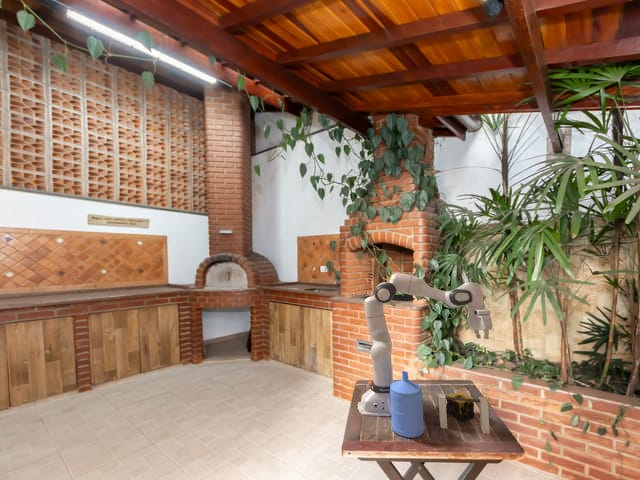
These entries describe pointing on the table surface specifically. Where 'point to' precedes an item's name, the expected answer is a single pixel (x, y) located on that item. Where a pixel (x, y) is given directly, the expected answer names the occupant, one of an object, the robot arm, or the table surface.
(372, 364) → the robot arm
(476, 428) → the table surface
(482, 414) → the frame
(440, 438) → the table surface
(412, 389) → the water jug
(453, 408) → the candle
